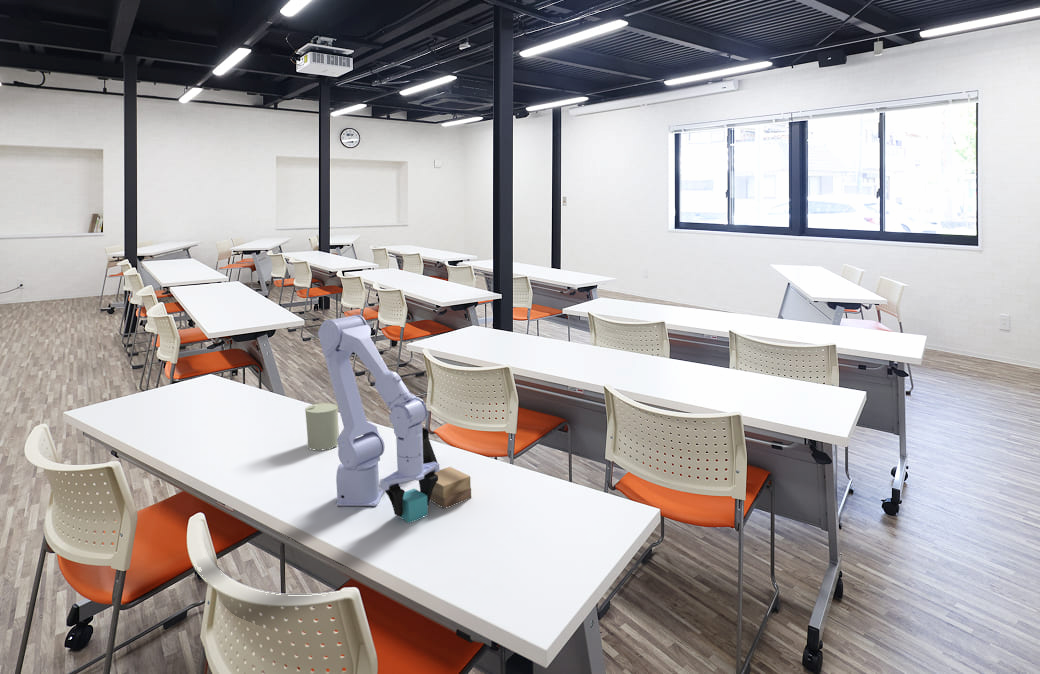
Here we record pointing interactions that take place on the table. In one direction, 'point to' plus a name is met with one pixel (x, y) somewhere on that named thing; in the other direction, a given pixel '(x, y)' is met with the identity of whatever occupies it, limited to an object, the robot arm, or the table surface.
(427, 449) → the phone stand
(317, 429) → the can
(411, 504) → the teal cube
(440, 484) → the tower top
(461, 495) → the tower base
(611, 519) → the table surface
